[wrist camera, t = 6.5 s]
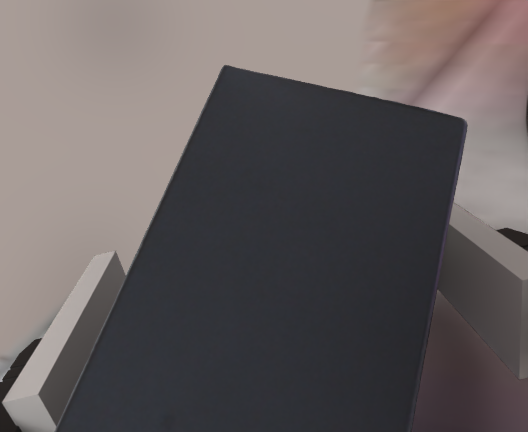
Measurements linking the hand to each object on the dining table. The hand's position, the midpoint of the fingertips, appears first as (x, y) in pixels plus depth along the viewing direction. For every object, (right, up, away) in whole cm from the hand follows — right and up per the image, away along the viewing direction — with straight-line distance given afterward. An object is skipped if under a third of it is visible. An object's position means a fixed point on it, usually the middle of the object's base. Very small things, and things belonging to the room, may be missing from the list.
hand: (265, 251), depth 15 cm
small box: (+1, -4, +3) cm, 5 cm away
